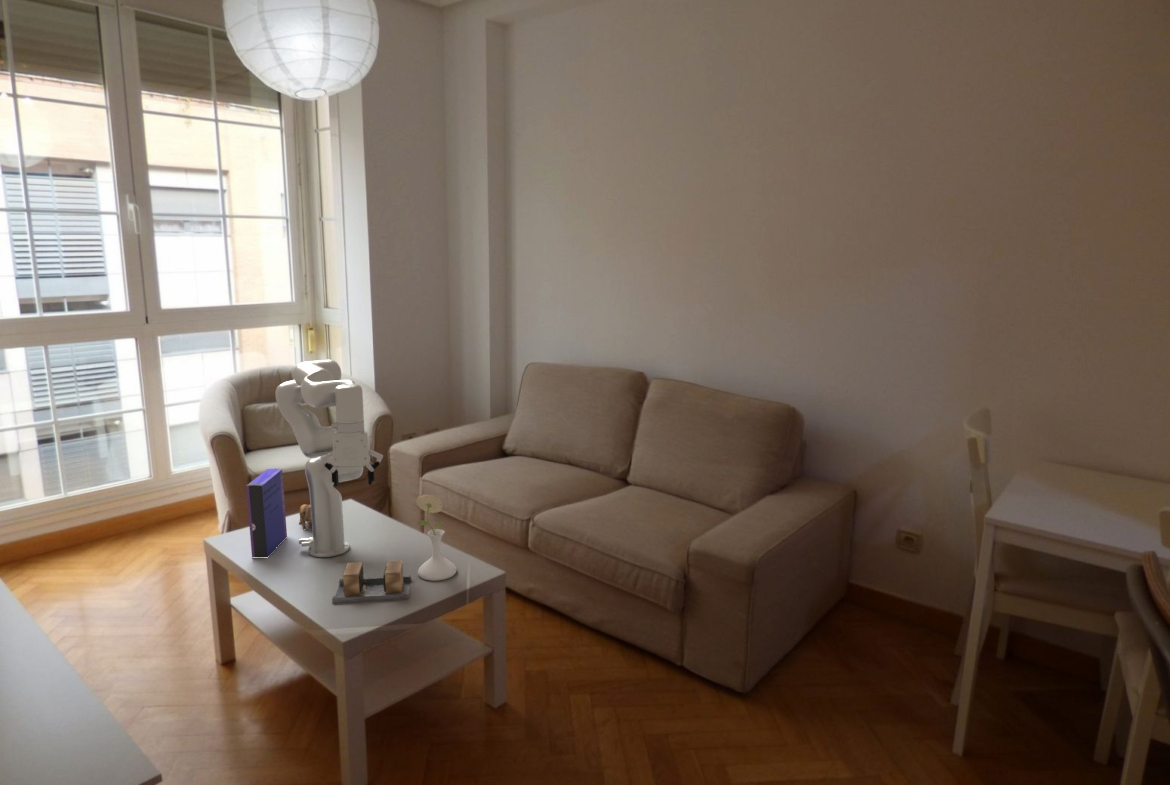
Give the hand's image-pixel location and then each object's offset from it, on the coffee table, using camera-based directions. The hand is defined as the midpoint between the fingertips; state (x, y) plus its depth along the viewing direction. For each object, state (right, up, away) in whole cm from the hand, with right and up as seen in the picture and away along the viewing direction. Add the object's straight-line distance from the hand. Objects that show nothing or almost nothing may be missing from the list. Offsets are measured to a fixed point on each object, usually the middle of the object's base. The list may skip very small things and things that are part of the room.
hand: (353, 484), depth 219 cm
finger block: (+3, -29, -8) cm, 31 cm away
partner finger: (+14, -29, -7) cm, 33 cm away
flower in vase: (+23, -28, +5) cm, 37 cm away
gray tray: (+8, -30, -7) cm, 32 cm away
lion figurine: (-30, -20, +44) cm, 57 cm away
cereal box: (-35, -24, +25) cm, 49 cm away
